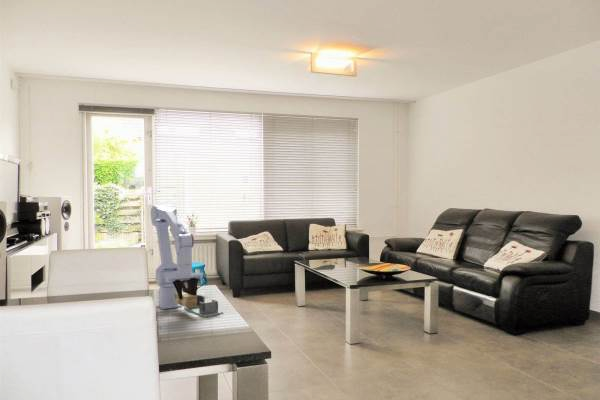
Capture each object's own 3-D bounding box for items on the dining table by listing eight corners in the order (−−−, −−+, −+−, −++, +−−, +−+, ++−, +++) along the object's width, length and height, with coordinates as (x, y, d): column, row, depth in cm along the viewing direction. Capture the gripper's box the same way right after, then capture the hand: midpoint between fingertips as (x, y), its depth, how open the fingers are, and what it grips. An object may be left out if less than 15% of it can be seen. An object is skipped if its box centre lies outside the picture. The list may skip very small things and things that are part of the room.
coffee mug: (176, 295, 224) (176, 274, 224) (189, 292, 231) (188, 272, 231) (195, 297, 218) (195, 276, 218) (207, 294, 226) (207, 273, 226)
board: (184, 308, 195) (184, 307, 195) (203, 305, 199) (203, 304, 199) (203, 317, 179) (203, 315, 179) (223, 313, 184) (223, 312, 184)
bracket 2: (218, 312, 184) (217, 301, 184) (203, 314, 180) (203, 303, 181) (213, 310, 187) (213, 299, 187) (199, 312, 184) (199, 301, 184)
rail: (174, 302, 190) (174, 292, 190) (183, 301, 192) (182, 291, 192) (188, 308, 178) (188, 297, 178) (196, 306, 180) (196, 296, 180)
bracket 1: (186, 307, 194) (186, 297, 194) (200, 305, 198) (200, 295, 198) (190, 309, 191) (190, 298, 191) (204, 306, 194) (204, 296, 194)
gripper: (170, 266, 178) (171, 302, 178) (205, 263, 186) (206, 297, 186) (164, 265, 183) (164, 299, 183) (198, 261, 192) (199, 294, 192)
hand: (185, 298), depth 185 cm, fingers closed on rail, 3 cm apart
